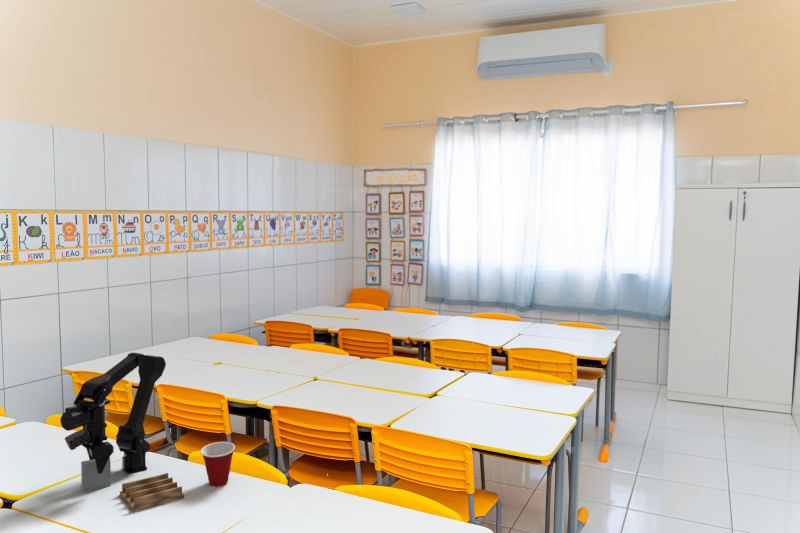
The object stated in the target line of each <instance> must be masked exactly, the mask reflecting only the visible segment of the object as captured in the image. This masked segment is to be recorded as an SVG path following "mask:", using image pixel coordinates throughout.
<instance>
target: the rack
mask: <svg viewBox="0 0 800 533" xmlns="http://www.w3.org/2000/svg"><path fill="white" fill-rule="evenodd" d="M173 481H174V478H173V476H172V477H169V473H168V472H165V473H162V474H158V475H154V476H150V477H145V478H141V479H137V480H133V481H128V482H124V483H121V491H120V492H119V495H120V497H121V498H122V499H123V501H124V502H125V503H126V504H127V505H128V507H129V508H130V509H131V511H132V512H133V513H134V512H139V511H141V510H145V509H149V508H152V507H156V506H160V505H163V504H167V503H171V501H172V502H175V501H178V500H181V499H185V494H184V493H183V487H182V486H178V482H177V481H174V482H173Z"/></svg>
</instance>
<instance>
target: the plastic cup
mask: <svg viewBox="0 0 800 533" xmlns="http://www.w3.org/2000/svg"><path fill="white" fill-rule="evenodd" d="M235 448H236V445H235V444H234V443H232V442H229V441H217V442H212V443H209V444H207V445H205V446H203V447H202V448H201V450H200V454H201V455H202V457H203V461H204V466H205V470H206V475H207V480H208V483H209V485H210V487H213V486H214V488H219V487H218V486H220V487H223V485H224V486H226V485H227V484H228V482H229V477H230V473H231V467H232V466H231V465H232V459H233V455H234V451H235Z"/></svg>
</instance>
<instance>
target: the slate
mask: <svg viewBox="0 0 800 533" xmlns="http://www.w3.org/2000/svg"><path fill="white" fill-rule="evenodd" d="M80 466H81V469H80V470H81V471H80V472H81V473H80V474H81V476H80V477H81V490H82V492H83V493H85V492H90V491H94V490H95V491H96V490H99V489H103V488H106V487H110V486H112V483H111V482H112V480H111V479H112V476H111V474H112V473H111V471H112V470H111V469H112V468H111V456H110V457H109V459H108V461H107V463H106V465H105V468H104V470H103V472H102V473H101V474H98V471H97V467H96V462H95V459H92V460H90V459H89V460H83V461H80Z"/></svg>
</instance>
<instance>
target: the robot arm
mask: <svg viewBox="0 0 800 533" xmlns="http://www.w3.org/2000/svg"><path fill="white" fill-rule="evenodd" d="M166 364H167V362H166V360H165V358H164V357H163V356H156V355H151V354H149V355H148V354H143V353H141V352H130V353H128V354H127V356H125V357H124V358H123V359H122V360H120V361H119V362H117V363H116V364H114V366H112V367H111V368H110V369H108V370H107V371H106V372H104V373H103V374H101V375H98V376H95V377H92V378H90V379H88V380H86V381H85V382H84V383H82V385H81V388H80V390H79V391H78V394H77V395H76V398H75V400H74V401H73V406H68V407H65V411H64V412H63V413H62V414H61V416H60V424H61V428H63V429H64V431H67V432H69V431H73V430H75V429H78V428H81V427H82V429H79V430H77V431H75V432H73V433H71V434H69V435H67V436H66V437H64V441H65V443H66V444H67V448H69V449H70V451H74V450H75V449H77V448H78V447H80V446H82V447H84V448H85V449H86V452H87V455H88V459H89V460H92V459H95V462H96V467H97V471H98V474H101V473H102V472H103V470H104V468H105V465H106V463H107V461H108V459H109V457H110V458H111V456H112V455H113V453H114V450H115V449H114V448H115V447H114V445H113V444H112V443H110V442H109V441H107V440H108V436H107V434H106V428H108V424H107V422H106V405H109V404H111V401H110V400H109V399H107V397H108V396H109V395H110V394H111V393H112V391H113V388H114V386H115V385H116V384H117V383H119V382H120V381H122V379H124V378H125V377H126V376H128V375H129V374H130V373H131V372H133V371H134V370H136V369H137V372H138V375H139V382H138V386H137V389H136V392H135V396H134V399H133V401H132V402H133V403H132V406H131V409H130V412H129V416H128V418H127V421H126V422H125V423H124V424H123V425H122V424H121V425H119V427H118V429H117V433H116V435H115V438H116V439H115V440H116V441H115V443H116V446H117V447H118V450H119V452H122V453H123V456H122V457H121V461H122V462H121V464H122V467H121V468H122V470H123V471H124V472H126V474H133V473H136V472H142V471H144V470H148V467H147V465H146V462H147V461H146V454H147V452H149V451H150V447H151V444H150V442H148V441H147V440H146V439H145V435H146V431H145V428H144V427H145V426H144V422H145V418H146V415H147V411H148V407H149V405H150V400H151V397H152V394H153V391H154V387H155V384H156V382H157V381H158V380H159V379H160V378H161V377H162V376H163V374H164V370H165V368H166Z"/></svg>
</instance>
